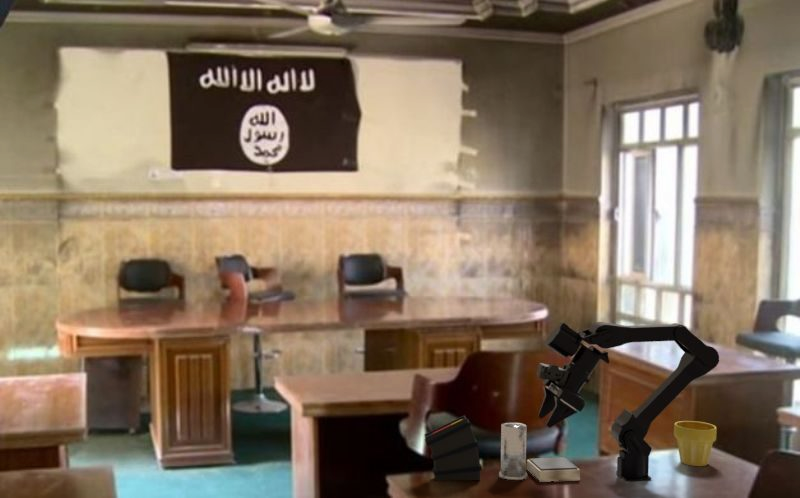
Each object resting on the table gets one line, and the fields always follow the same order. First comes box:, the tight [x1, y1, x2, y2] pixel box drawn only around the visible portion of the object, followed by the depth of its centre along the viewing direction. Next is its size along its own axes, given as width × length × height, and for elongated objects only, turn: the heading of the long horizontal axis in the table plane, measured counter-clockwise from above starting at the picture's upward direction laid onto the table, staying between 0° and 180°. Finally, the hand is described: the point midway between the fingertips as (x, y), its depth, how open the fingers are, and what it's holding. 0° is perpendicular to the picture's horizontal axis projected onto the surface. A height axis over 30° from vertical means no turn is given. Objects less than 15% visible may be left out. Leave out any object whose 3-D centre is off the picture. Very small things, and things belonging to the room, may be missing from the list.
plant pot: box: [673, 420, 718, 467], centre depth 232 cm, size 10×10×10 cm
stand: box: [526, 456, 581, 483], centre depth 220 cm, size 10×10×3 cm
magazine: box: [424, 415, 483, 482], centre depth 216 cm, size 4×13×15 cm, turn 94°
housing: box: [498, 422, 528, 481], centre depth 218 cm, size 7×7×12 cm
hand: (543, 422), depth 217 cm, fingers open, 9 cm apart
